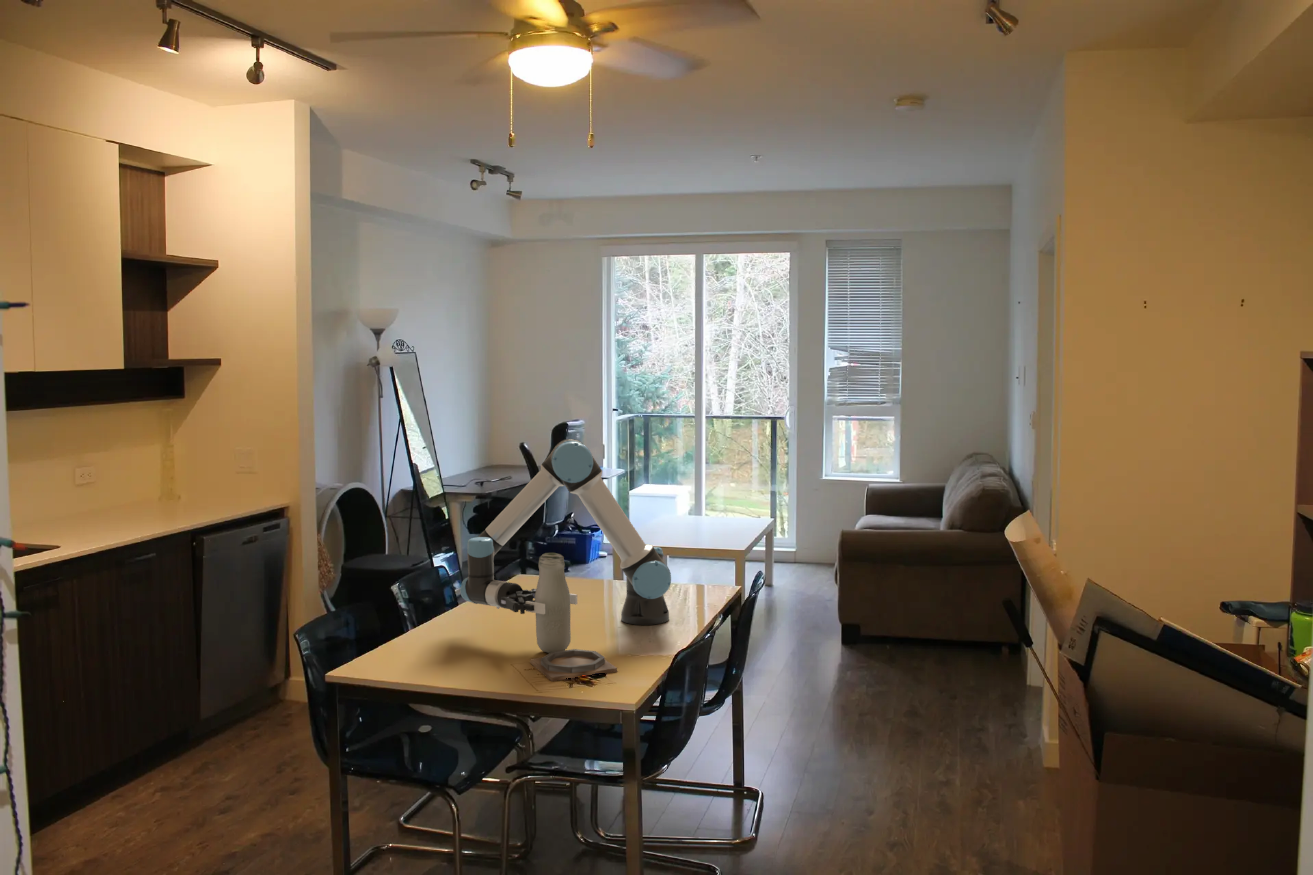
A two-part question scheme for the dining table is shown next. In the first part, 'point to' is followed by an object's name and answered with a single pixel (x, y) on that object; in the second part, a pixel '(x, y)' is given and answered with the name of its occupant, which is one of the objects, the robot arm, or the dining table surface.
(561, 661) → the socket board
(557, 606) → the glass bottle
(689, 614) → the dining table surface
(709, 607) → the dining table surface
